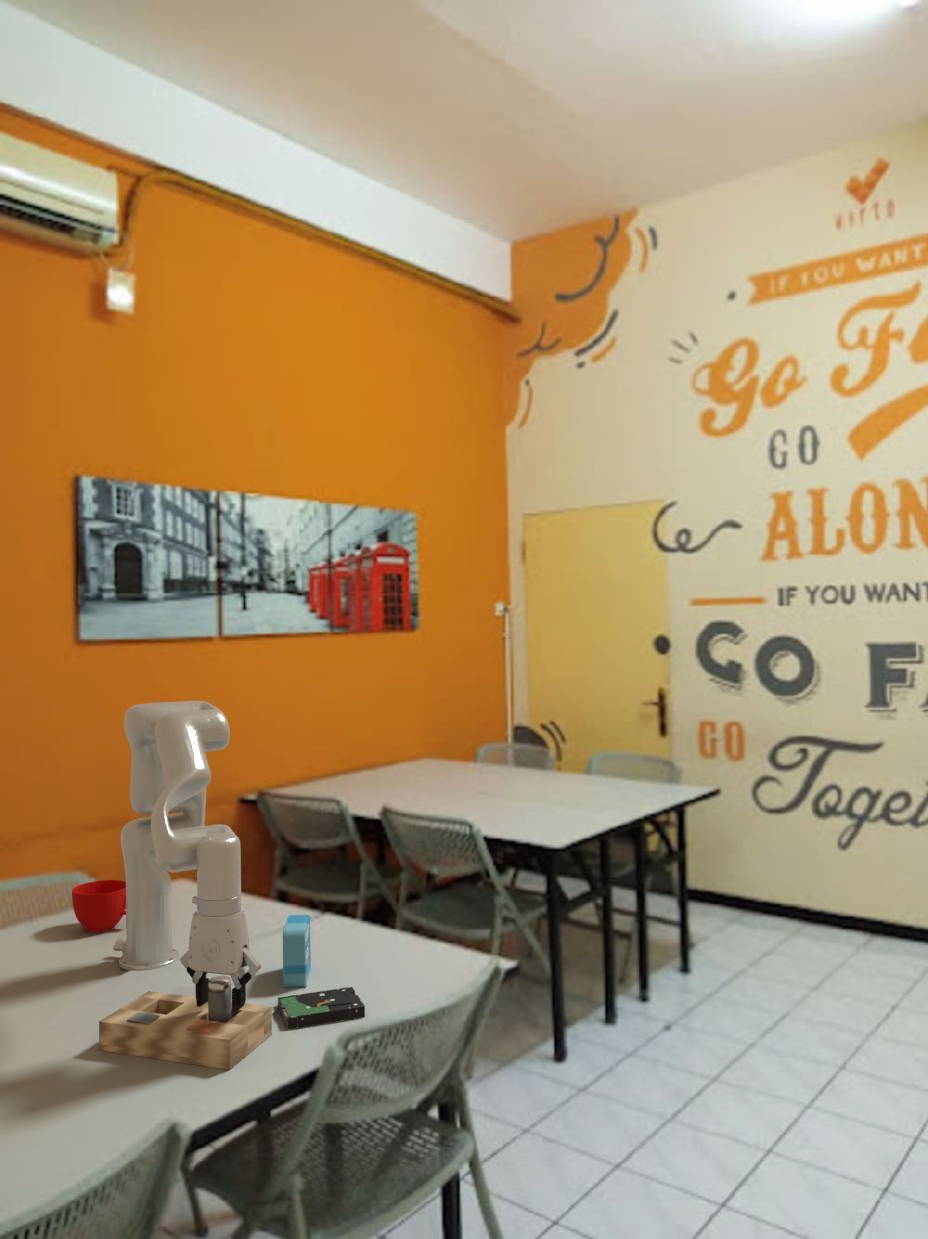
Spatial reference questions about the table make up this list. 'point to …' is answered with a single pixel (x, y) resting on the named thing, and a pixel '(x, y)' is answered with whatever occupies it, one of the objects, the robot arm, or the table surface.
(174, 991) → the rubber mat
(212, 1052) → the socket block
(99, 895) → the ceramic cup
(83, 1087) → the table surface
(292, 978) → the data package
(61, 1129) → the table surface
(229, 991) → the plug
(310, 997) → the disk drive
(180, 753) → the robot arm
